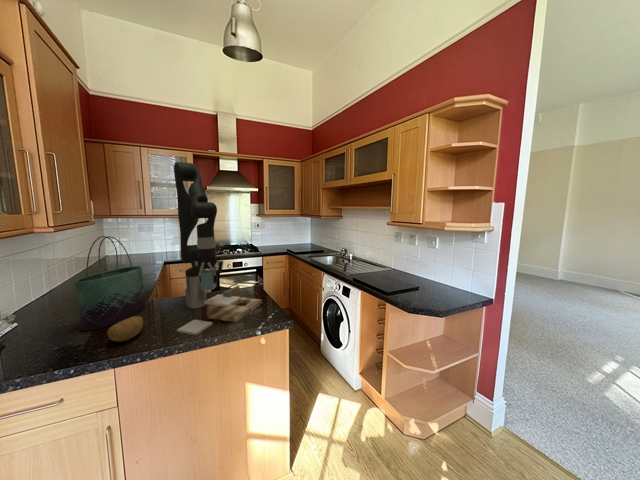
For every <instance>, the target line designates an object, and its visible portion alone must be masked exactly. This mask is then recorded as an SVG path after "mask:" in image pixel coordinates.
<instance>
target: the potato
mask: <svg viewBox="0 0 640 480" xmlns="http://www.w3.org/2000/svg"><path fill="white" fill-rule="evenodd" d="M143 326H144V318H143V317H141V316H140V315H133V316H131V317H129V318H127V319H124V320H122V321H120V322H117V323H115V324H113V325H111V327H109V328H108V330H107V336H108V339H109V340H110V341H113V342H118V343H119V342H126V341H129V340H132V339H133V338H135V337H136V336H137V335H138V334H139V333H140V332H141V330H142V328H143Z"/></svg>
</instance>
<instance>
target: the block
mask: <svg viewBox="0 0 640 480" xmlns="http://www.w3.org/2000/svg"><path fill="white" fill-rule="evenodd" d="M213 276H214V275H213V272H212V271H211V269H205V270H204V271H203V272H201V287H202V290H206V291H214V289H215V288H217V282H216V283H214V278H213Z"/></svg>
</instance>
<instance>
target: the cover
mask: <svg viewBox="0 0 640 480" xmlns="http://www.w3.org/2000/svg"><path fill="white" fill-rule="evenodd" d="M222 293H223V295H220V294H221V293H220V294H216V295H214V296H212V297H211V298H208V299H206V301H204V304H206V305H207V304H210V305H217V306H225V307H228V306H230V305H232V304H233V303H235V302H237V301H238V300H240V299H241V297H242V296H240V297H236V296H233V292H232V291H228V290H224V291H223V292H222Z"/></svg>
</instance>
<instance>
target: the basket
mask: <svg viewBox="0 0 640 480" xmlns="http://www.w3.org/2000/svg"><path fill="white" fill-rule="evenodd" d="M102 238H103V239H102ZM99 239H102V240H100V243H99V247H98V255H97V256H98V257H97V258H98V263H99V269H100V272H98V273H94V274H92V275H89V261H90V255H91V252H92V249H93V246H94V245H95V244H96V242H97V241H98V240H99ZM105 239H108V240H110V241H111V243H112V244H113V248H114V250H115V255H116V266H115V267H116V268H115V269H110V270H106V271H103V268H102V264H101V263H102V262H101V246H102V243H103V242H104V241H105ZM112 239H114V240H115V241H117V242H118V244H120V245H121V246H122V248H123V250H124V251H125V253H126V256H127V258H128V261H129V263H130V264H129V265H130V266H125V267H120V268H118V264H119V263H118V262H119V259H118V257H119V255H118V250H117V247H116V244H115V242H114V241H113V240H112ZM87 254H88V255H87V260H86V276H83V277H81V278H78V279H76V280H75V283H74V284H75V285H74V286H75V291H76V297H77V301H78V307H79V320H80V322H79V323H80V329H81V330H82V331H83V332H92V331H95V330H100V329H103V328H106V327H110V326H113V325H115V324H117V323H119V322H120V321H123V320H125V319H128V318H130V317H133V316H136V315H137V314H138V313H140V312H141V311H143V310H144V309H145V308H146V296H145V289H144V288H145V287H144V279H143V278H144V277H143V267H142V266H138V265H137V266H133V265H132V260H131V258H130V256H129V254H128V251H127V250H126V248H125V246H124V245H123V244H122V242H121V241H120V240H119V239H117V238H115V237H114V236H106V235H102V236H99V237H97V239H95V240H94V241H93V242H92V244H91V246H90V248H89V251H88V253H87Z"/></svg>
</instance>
